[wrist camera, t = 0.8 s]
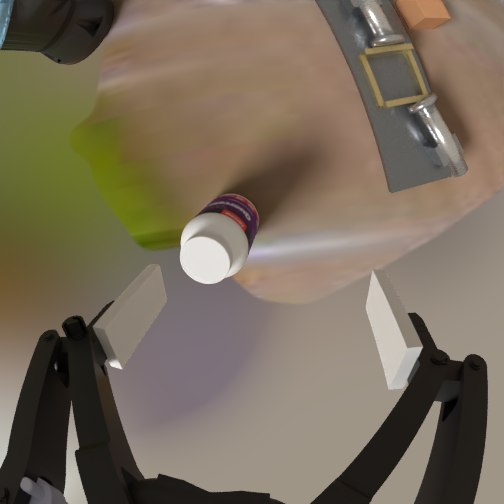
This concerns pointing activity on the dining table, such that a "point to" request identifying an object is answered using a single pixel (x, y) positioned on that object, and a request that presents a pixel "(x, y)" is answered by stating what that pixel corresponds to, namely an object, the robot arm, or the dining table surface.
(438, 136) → the shaft
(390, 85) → the board
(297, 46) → the dining table surface
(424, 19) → the block
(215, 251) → the pill bottle
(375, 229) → the dining table surface
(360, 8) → the shaft
